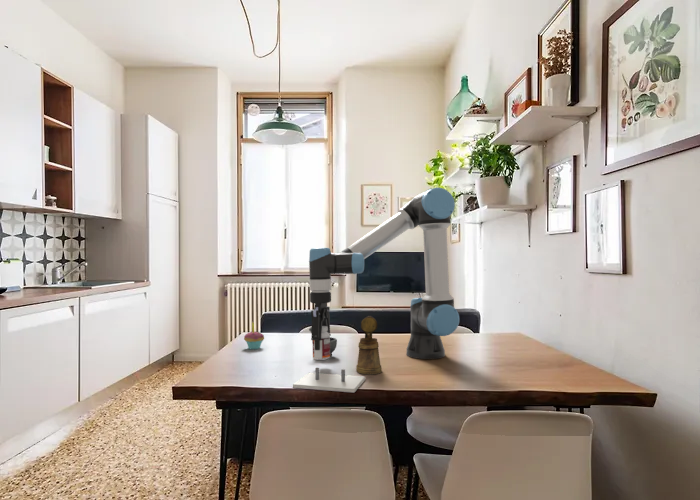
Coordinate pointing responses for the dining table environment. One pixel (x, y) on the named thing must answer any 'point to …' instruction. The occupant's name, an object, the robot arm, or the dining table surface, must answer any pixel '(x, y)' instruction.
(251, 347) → the cupcake
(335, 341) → the mortar and pestle
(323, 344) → the pill bottle
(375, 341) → the brown ball-topped piece
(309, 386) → the pin tray
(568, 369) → the dining table surface
